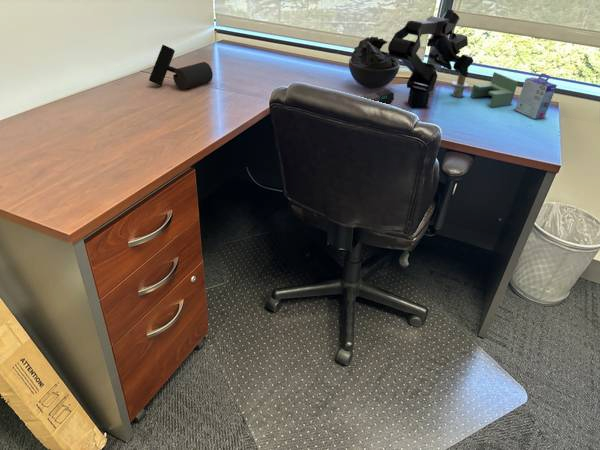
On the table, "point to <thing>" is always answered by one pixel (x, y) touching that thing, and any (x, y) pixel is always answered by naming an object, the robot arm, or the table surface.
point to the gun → (382, 96)
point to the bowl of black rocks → (372, 64)
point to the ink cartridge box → (535, 97)
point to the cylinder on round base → (459, 86)
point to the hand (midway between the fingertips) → (458, 72)
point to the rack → (496, 90)
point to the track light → (180, 71)
